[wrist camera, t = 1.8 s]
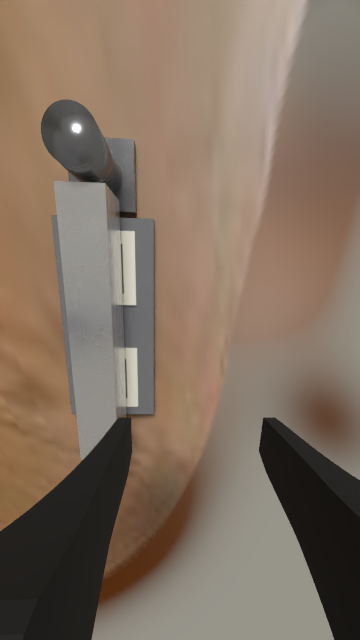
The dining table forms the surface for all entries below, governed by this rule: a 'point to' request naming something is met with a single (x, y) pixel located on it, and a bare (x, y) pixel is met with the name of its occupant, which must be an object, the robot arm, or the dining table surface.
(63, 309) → the label board
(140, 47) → the dining table surface
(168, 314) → the dining table surface
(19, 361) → the dining table surface
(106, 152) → the grey joystick
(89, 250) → the swing arm
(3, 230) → the dining table surface
